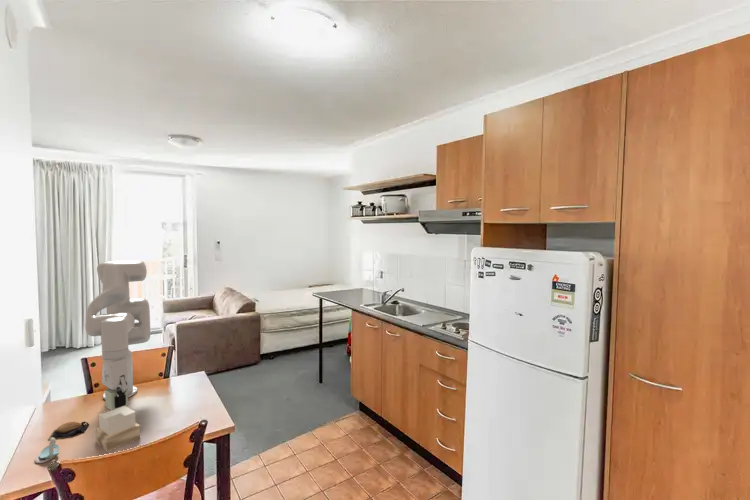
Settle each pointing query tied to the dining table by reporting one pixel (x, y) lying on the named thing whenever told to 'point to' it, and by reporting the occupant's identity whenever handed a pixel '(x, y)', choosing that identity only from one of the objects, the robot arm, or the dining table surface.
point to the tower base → (117, 438)
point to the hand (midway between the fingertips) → (116, 403)
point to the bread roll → (69, 430)
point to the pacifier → (48, 452)
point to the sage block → (113, 398)
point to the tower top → (117, 420)
